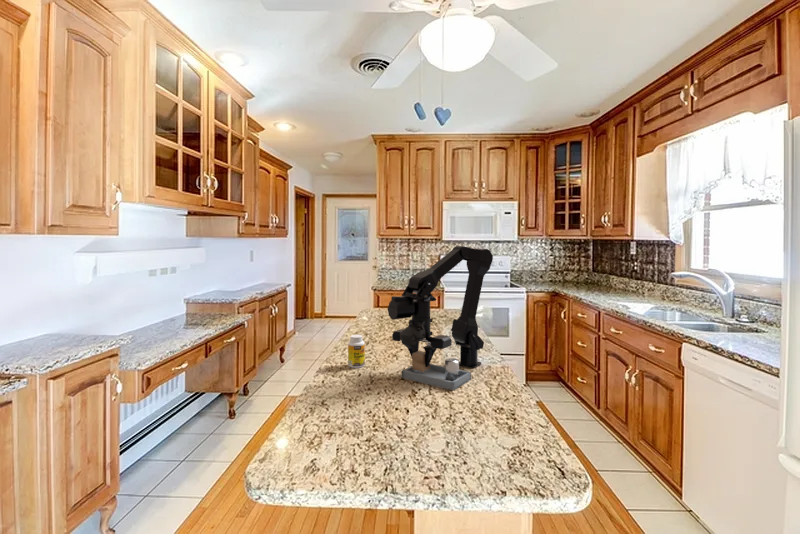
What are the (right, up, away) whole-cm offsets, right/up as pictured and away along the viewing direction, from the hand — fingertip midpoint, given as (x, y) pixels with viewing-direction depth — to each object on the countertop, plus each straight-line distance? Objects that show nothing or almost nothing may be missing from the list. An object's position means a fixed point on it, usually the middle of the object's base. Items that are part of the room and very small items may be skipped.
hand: (421, 365), depth 124 cm
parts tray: (+4, -3, -3) cm, 6 cm away
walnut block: (0, -1, 0) cm, 1 cm away
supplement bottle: (-21, -3, +9) cm, 23 cm away
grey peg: (+9, -3, -6) cm, 11 cm away
